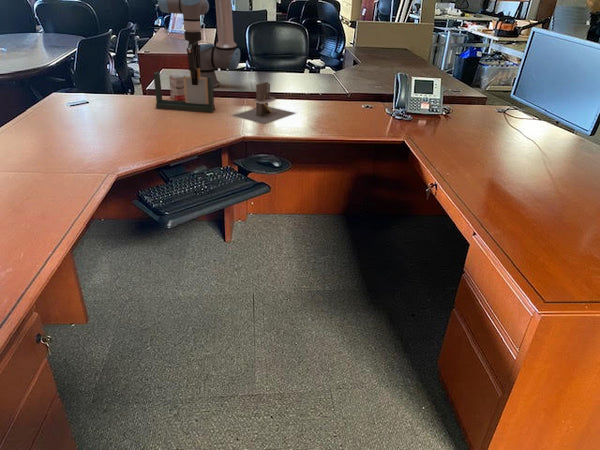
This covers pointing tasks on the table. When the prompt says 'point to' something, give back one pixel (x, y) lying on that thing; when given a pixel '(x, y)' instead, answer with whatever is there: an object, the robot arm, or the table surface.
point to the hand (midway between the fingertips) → (196, 84)
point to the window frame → (181, 104)
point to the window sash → (196, 89)
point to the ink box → (177, 87)
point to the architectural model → (263, 107)
